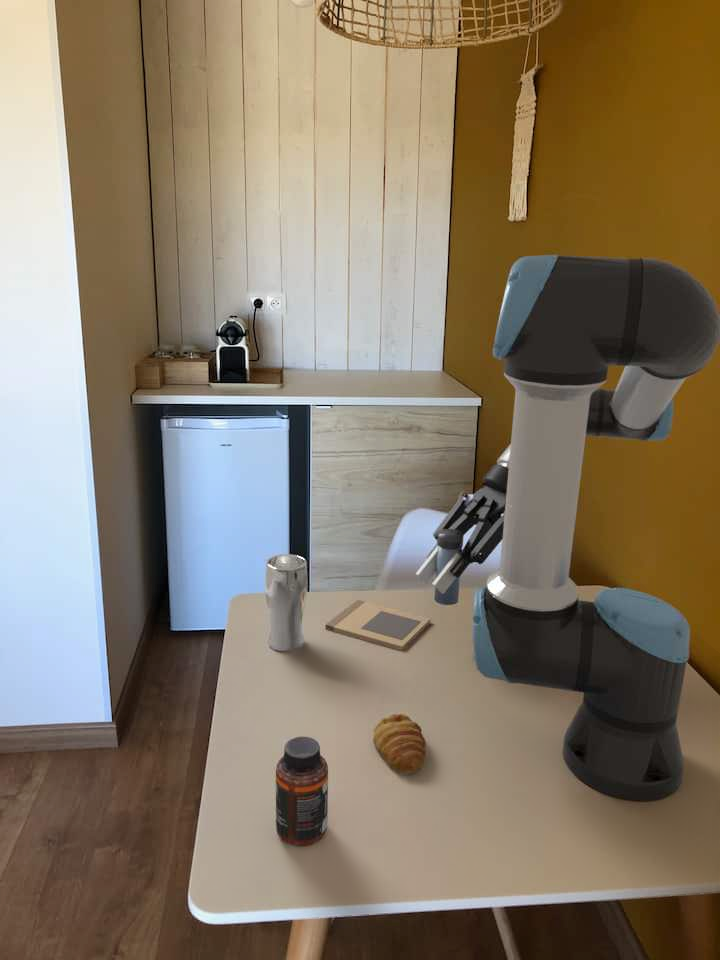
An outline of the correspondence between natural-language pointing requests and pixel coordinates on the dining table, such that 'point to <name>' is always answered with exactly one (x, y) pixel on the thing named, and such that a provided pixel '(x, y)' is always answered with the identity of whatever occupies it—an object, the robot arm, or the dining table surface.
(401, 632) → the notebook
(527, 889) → the dining table surface
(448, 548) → the blue bottle
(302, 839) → the supplement bottle
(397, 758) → the pastry
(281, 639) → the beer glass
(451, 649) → the dining table surface
